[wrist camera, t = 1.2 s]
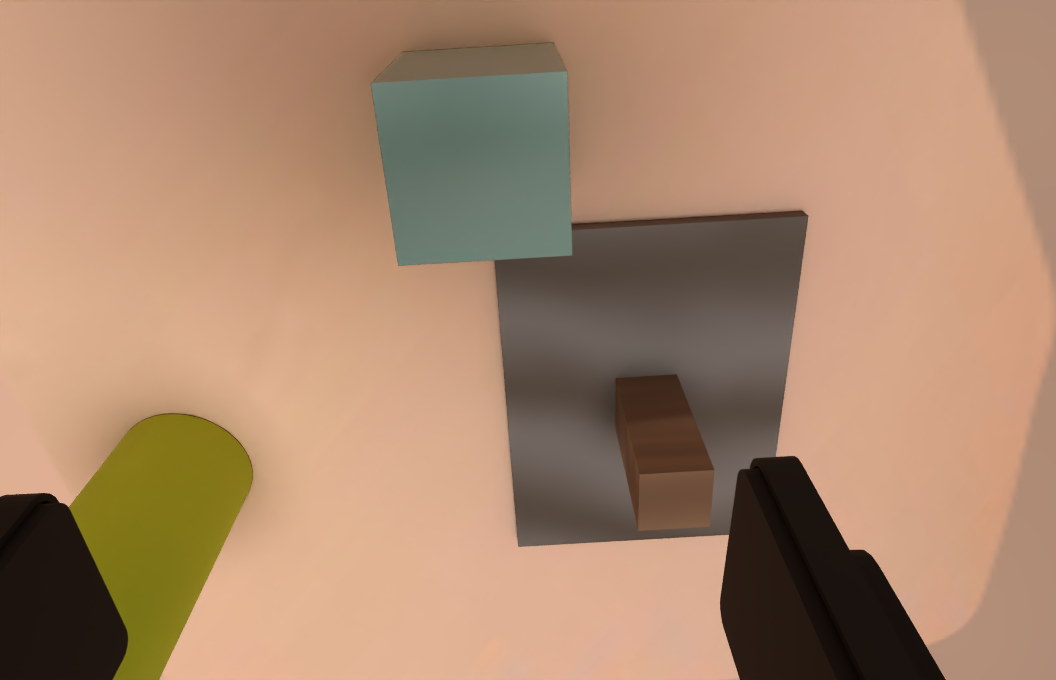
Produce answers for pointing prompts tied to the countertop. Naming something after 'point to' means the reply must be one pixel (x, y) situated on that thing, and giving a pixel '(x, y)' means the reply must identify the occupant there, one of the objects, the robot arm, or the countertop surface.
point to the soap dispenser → (161, 527)
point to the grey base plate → (646, 373)
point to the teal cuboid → (476, 153)
